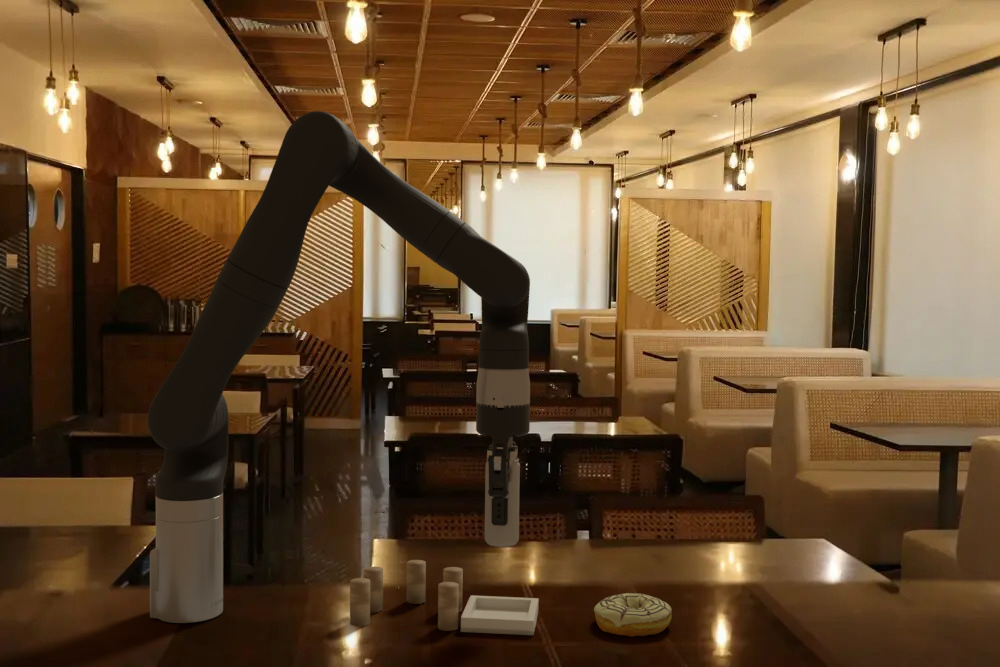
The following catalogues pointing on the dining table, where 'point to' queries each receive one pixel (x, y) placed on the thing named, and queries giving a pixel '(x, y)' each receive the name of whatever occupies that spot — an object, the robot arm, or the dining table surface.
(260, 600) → the dining table surface
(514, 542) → the beverage can
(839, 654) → the dining table surface
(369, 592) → the posts
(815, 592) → the dining table surface
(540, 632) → the dining table surface
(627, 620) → the decorated donut
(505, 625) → the parts tray
